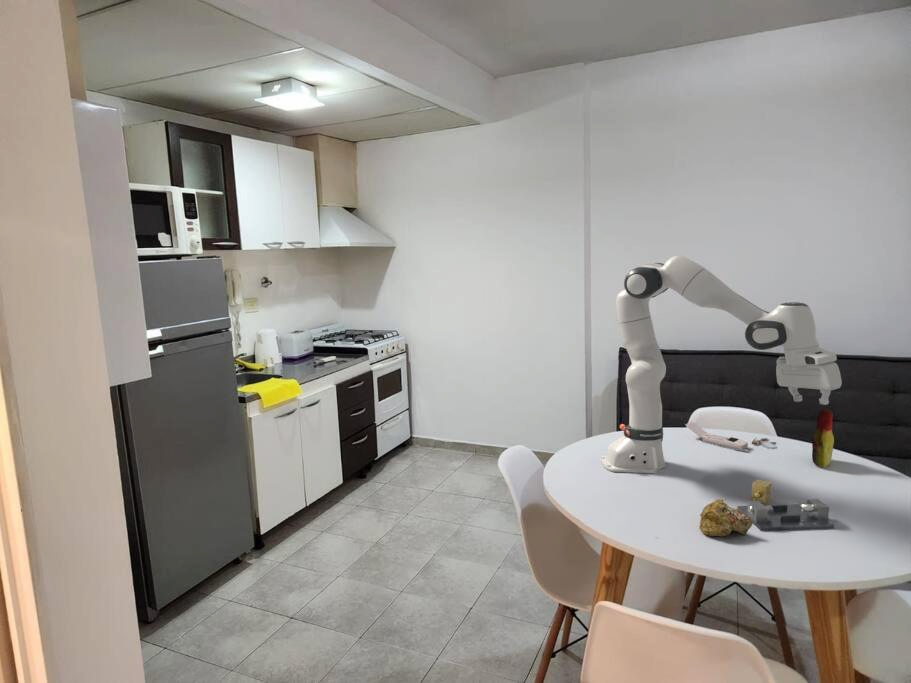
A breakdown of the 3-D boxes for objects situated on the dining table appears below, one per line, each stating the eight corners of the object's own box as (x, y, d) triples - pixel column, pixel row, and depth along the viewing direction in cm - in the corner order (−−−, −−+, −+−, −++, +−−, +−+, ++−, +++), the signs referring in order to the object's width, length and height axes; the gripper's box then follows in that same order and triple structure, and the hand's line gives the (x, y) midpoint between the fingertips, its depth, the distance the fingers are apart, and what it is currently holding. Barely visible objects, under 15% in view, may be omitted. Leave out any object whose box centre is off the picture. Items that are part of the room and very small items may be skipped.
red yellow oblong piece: (830, 471, 192) (834, 414, 189) (808, 467, 196) (812, 411, 193) (833, 460, 201) (837, 406, 198) (812, 456, 205) (816, 403, 202)
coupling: (763, 505, 169) (764, 488, 168) (749, 501, 172) (750, 484, 171) (772, 498, 174) (773, 481, 173) (759, 494, 177) (760, 477, 176)
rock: (735, 548, 156) (756, 520, 153) (727, 556, 149) (749, 527, 146) (697, 519, 162) (717, 491, 159) (688, 525, 156) (708, 496, 153)
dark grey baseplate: (759, 530, 155) (760, 513, 154) (736, 509, 168) (737, 493, 167) (835, 528, 155) (836, 510, 154) (805, 506, 168) (806, 490, 167)
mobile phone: (691, 421, 233) (754, 434, 214) (691, 434, 234) (754, 449, 215) (683, 424, 229) (747, 438, 210) (683, 438, 230) (746, 453, 211)
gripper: (767, 358, 175) (775, 401, 175) (822, 359, 155) (831, 408, 155) (784, 354, 176) (792, 397, 177) (841, 354, 156) (850, 403, 157)
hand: (811, 402), depth 166 cm, fingers open, 8 cm apart
